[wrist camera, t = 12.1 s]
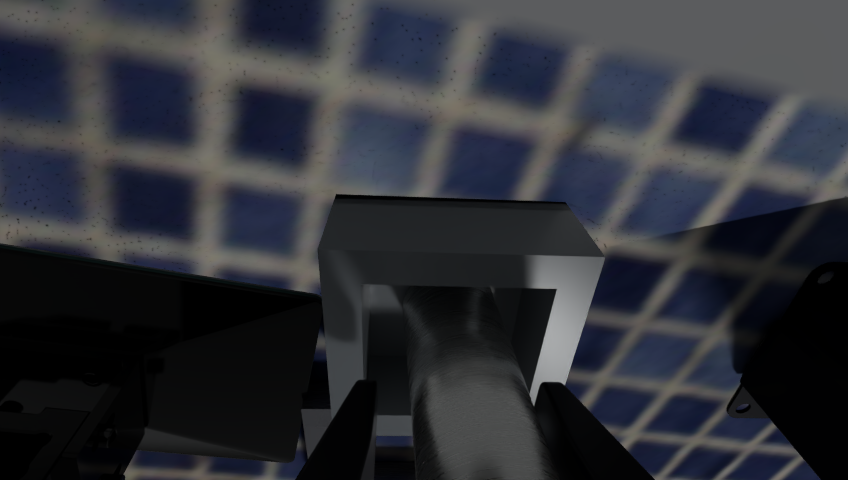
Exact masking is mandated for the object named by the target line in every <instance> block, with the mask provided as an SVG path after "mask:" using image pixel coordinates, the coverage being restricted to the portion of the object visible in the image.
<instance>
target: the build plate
mask: <svg viewBox="0 0 848 480" xmlns="http://www.w3.org/2000/svg"><path fill="white" fill-rule="evenodd" d="M322 312H323V307H322V297H321V296H320V295H317V294H313V293H306V292H300V291H294V290H288V289H282V288H275V287H269V286H263V285H257V284H250V283H244V282H238V281H232V280H225V279H219V278H213V277H207V276H201V275H194V274H188V273H182V272H176V271H169V270H163V269H157V268H151V267H144V266H138V265H132V264H126V263H120V262H113V261H107V260H101V259H95V258H88V257H82V256H76V255H70V254H63V253H57V252H51V251H45V250H38V249H32V248H26V247H20V246H14V245H7V244H1V243H0V480H125V475H123V474H124V472H125V470H126V468H127V467H128V465H129V463H130V461H131V459H132V457H133V455H134V454H135V452H136V450H141V451H153V452H165V453H176V454H188V455H200V456H212V457H223V458H235V459H247V460H259V461H270V462H282V463H289V462H292V461H293V460H294V458H295V453H296V448H297V443H298V438H299V432H300V427H301V422H302V412H301V407H302V403H303V401H305V400H306V396H307V391H308V385H309V380H310V375H311V370H312V364H313V359H314V354H315V349H316V343H317V338H318V333H319V328H320V323H321V317H322Z"/></svg>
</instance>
